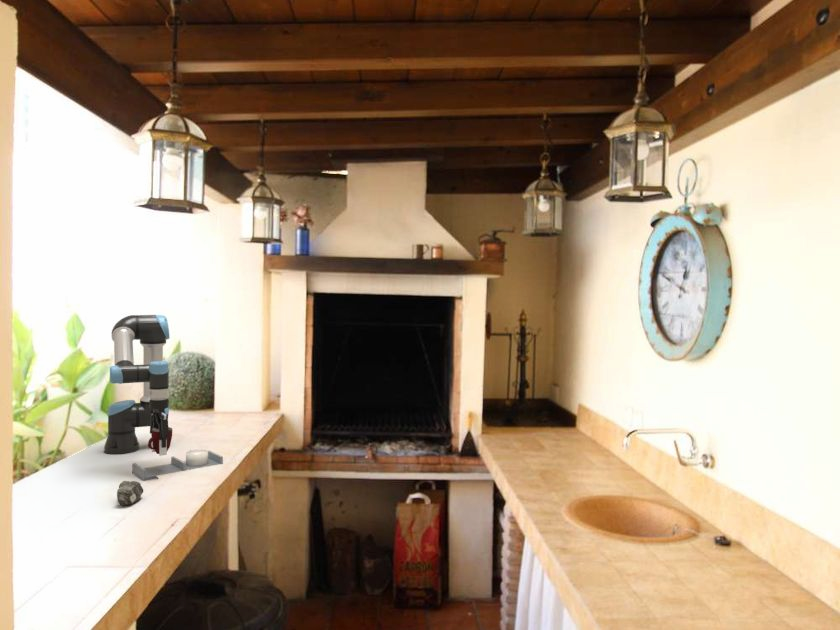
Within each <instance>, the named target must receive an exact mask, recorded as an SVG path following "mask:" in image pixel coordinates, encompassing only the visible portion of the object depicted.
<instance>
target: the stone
mask: <svg viewBox="0 0 840 630" xmlns="http://www.w3.org/2000/svg"><path fill="white" fill-rule="evenodd" d="M143 493H144V488H143V486H142V485H141V483H140V482H139V481H135V480H131V481H130V480H129V481H128V480H122V482H120V483H119V485H118V489H117V491H116V499H117V501H118V503H119V506H121V507H125V506H129V505H131V506H132V505H133V504H134V503H135V502H137V501H138V500H140V498H141V497H142V495H143Z"/></svg>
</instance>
